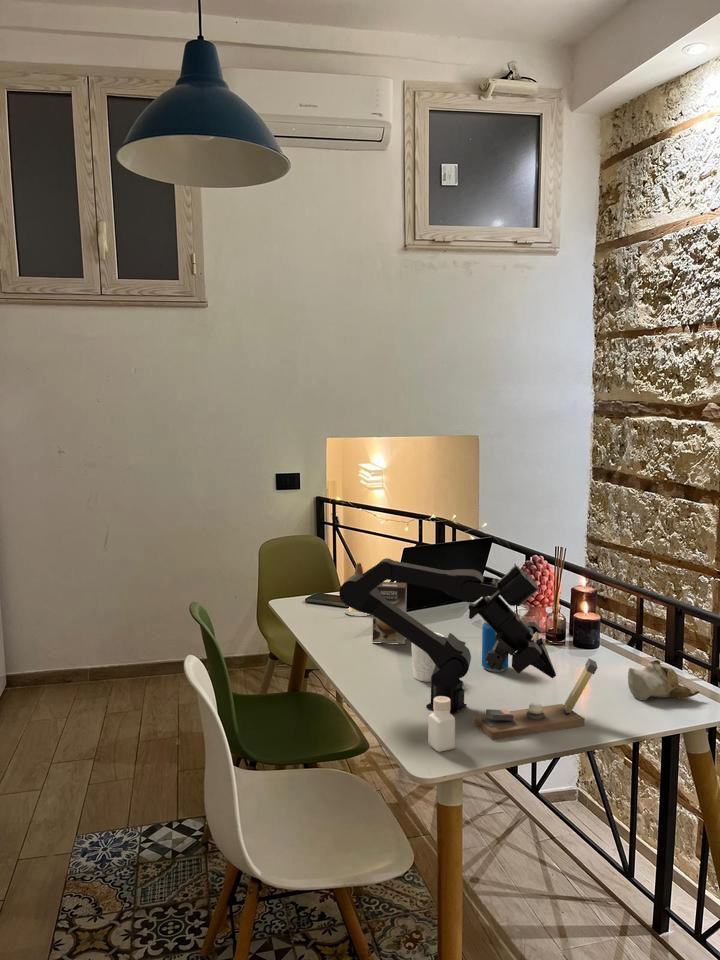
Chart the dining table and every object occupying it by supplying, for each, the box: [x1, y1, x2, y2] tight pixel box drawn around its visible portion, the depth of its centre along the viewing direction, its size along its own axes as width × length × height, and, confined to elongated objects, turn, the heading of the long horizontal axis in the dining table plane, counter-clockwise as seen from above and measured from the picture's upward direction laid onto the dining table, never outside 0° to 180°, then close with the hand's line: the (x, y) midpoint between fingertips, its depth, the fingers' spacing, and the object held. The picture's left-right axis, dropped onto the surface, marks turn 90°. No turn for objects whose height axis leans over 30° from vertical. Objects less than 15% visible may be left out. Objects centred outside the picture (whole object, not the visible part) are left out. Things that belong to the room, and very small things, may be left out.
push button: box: [528, 702, 543, 714], centre depth 152 cm, size 3×3×1 cm
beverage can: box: [481, 619, 509, 673], centre depth 184 cm, size 6×6×12 cm
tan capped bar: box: [563, 658, 598, 715], centre depth 154 cm, size 2×4×12 cm, turn 166°
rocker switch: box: [484, 708, 514, 720], centre depth 149 cm, size 3×5×1 cm, turn 108°
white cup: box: [410, 631, 445, 683], centre depth 178 cm, size 8×8×10 cm
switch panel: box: [473, 703, 586, 741], centre depth 152 cm, size 8×21×2 cm, turn 108°
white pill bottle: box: [427, 696, 456, 753], centre depth 141 cm, size 4×4×10 cm
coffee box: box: [371, 581, 408, 644], centre depth 205 cm, size 9×6×16 cm
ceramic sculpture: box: [627, 659, 700, 701], centre depth 167 cm, size 11×9×15 cm
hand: (554, 676), depth 154 cm, fingers closed
